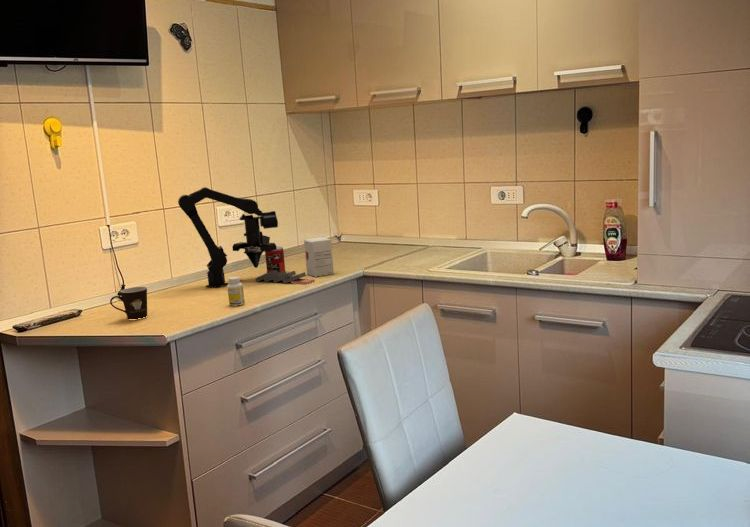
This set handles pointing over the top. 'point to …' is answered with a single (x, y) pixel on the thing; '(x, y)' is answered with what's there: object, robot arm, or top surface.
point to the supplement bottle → (235, 291)
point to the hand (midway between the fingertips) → (256, 267)
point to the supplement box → (318, 256)
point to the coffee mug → (133, 302)
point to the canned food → (275, 260)
